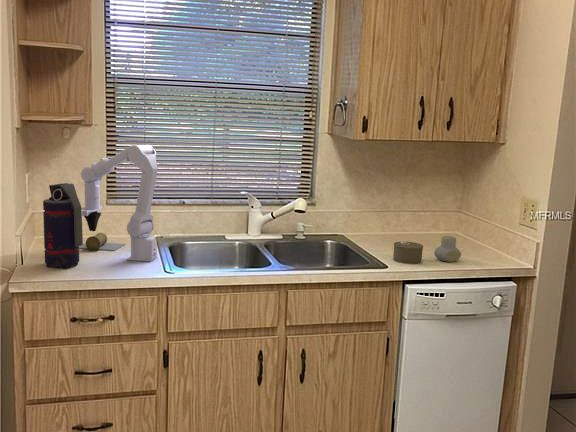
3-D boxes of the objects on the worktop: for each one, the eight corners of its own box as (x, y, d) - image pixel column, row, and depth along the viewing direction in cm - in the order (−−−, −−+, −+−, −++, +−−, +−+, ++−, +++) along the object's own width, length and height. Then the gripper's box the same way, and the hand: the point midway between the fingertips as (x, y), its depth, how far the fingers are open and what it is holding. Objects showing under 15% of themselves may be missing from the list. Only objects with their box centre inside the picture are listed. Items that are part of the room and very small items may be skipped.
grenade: (37, 266, 219) (35, 184, 214) (60, 259, 230) (58, 180, 225) (69, 271, 214) (67, 187, 209) (90, 264, 225) (89, 183, 220)
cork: (99, 235, 244) (108, 230, 255) (84, 237, 245) (94, 231, 255) (101, 250, 245) (110, 244, 256) (86, 251, 246) (96, 245, 256)
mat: (125, 244, 258) (125, 243, 258) (114, 251, 247) (114, 250, 247) (88, 242, 260) (88, 241, 260) (76, 248, 248) (76, 247, 248)
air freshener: (440, 263, 250) (443, 239, 249) (430, 258, 258) (432, 235, 256) (463, 262, 254) (466, 239, 252) (452, 257, 261) (454, 234, 260)
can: (401, 265, 245) (403, 248, 244) (387, 257, 256) (388, 241, 255) (427, 263, 249) (429, 247, 248) (412, 256, 260) (413, 241, 259)
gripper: (90, 194, 249) (90, 226, 251) (74, 199, 234) (75, 233, 237) (106, 195, 248) (107, 227, 250) (92, 200, 234) (92, 234, 236)
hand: (92, 230), depth 243 cm, fingers closed
